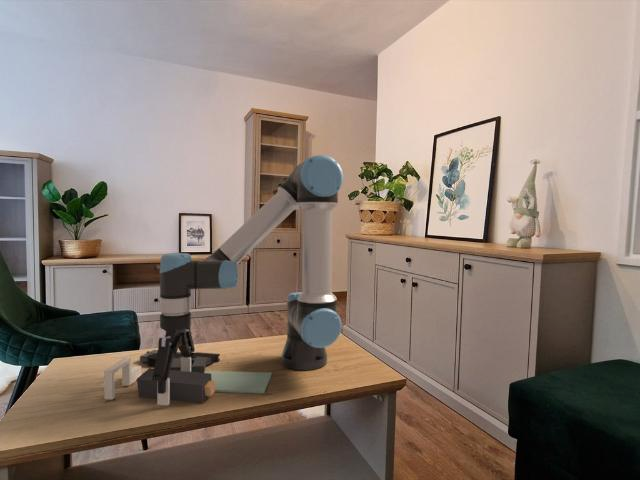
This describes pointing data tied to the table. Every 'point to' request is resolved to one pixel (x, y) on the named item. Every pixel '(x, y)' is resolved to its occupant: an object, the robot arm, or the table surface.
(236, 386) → the mat
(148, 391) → the dark grey rectangular bar
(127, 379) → the white arch
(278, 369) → the table surface
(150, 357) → the pistol
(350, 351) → the table surface
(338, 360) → the table surface
